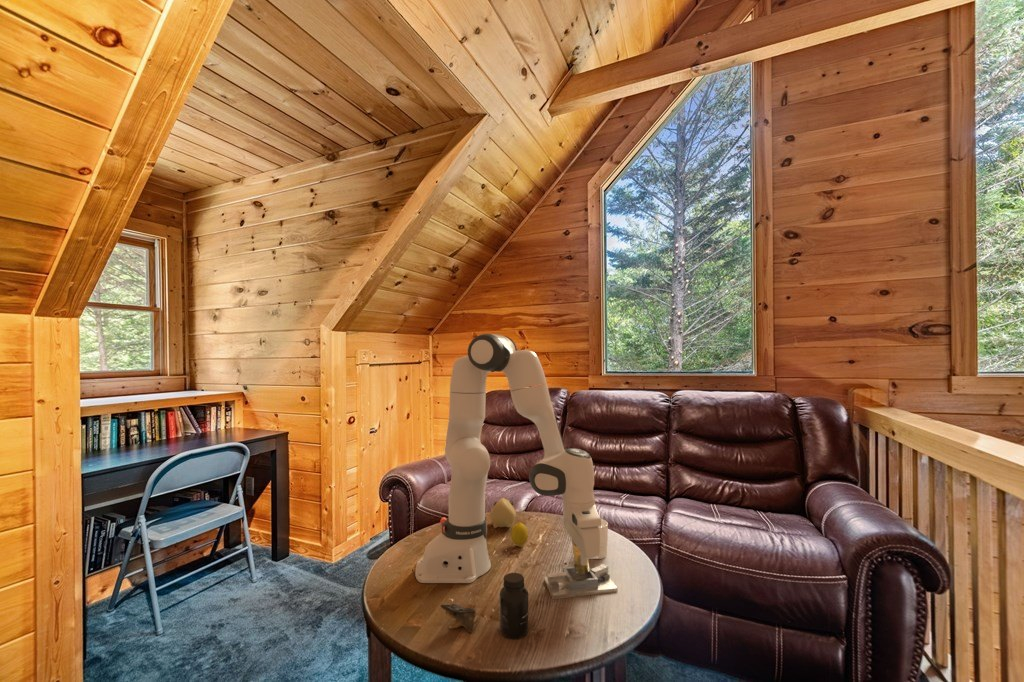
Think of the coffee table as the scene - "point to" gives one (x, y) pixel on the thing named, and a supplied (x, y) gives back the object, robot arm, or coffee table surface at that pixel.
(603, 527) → the white cup
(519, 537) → the lemon
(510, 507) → the pale yellow wedge piece
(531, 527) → the coffee table surface
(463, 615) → the shark head
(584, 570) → the cylinder
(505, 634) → the supplement bottle
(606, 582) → the shaft rig
